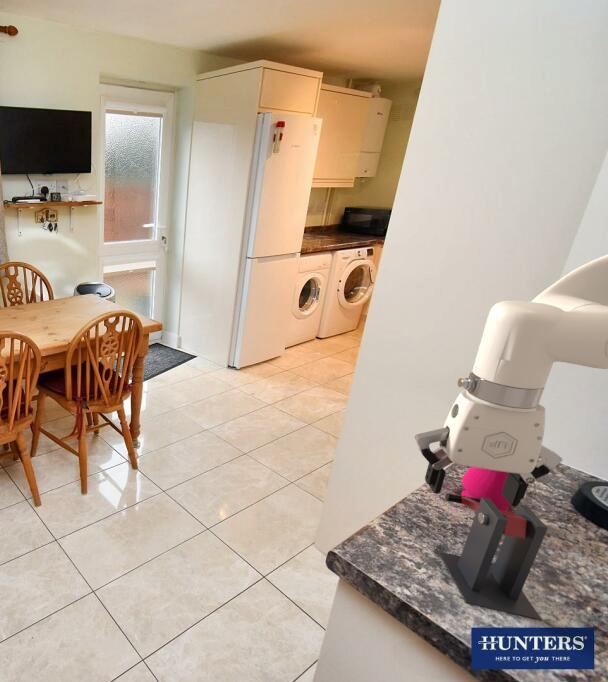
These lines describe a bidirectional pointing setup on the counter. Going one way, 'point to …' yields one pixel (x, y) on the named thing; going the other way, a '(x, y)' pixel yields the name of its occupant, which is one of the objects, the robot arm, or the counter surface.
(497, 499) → the pepper mill
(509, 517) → the switch lever
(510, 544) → the switch bracket
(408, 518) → the counter surface
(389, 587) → the counter surface
